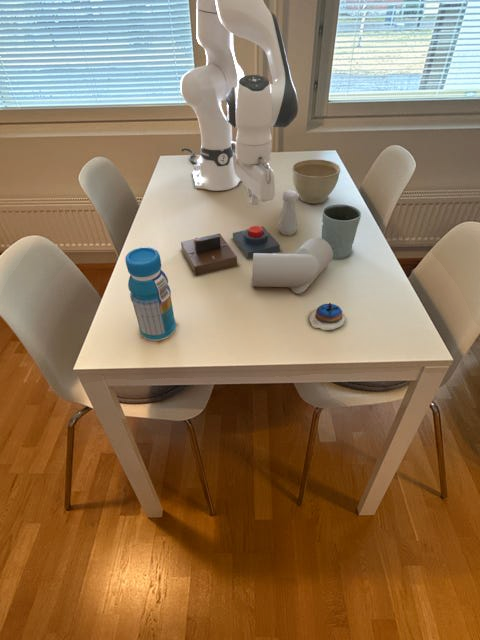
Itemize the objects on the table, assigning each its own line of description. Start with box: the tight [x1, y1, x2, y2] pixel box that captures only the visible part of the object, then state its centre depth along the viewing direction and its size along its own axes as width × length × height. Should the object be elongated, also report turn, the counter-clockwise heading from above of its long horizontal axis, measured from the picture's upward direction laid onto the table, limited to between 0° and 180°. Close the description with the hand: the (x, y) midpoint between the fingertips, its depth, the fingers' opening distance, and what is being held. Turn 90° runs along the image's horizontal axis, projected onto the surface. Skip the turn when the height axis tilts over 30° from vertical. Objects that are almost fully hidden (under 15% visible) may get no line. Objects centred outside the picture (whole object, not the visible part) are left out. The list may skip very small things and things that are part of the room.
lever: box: [193, 233, 221, 253], centre depth 111 cm, size 7×2×4 cm, turn 111°
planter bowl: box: [291, 158, 342, 204], centre depth 138 cm, size 16×16×11 cm
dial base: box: [180, 233, 238, 277], centre depth 113 cm, size 14×12×3 cm
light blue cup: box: [320, 203, 362, 260], centre depth 111 cm, size 10×10×12 cm
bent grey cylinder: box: [252, 236, 334, 294], centre depth 102 cm, size 18×11×20 cm
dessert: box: [309, 302, 346, 331], centre depth 92 cm, size 8×7×6 cm
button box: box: [232, 226, 281, 260], centre depth 117 cm, size 12×10×4 cm
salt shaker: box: [278, 189, 299, 236], centre depth 119 cm, size 6×6×13 cm
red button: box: [248, 225, 263, 237], centre depth 115 cm, size 4×4×2 cm
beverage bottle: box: [124, 246, 177, 342], centre depth 85 cm, size 8×8×20 cm
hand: (252, 202), depth 110 cm, fingers closed
